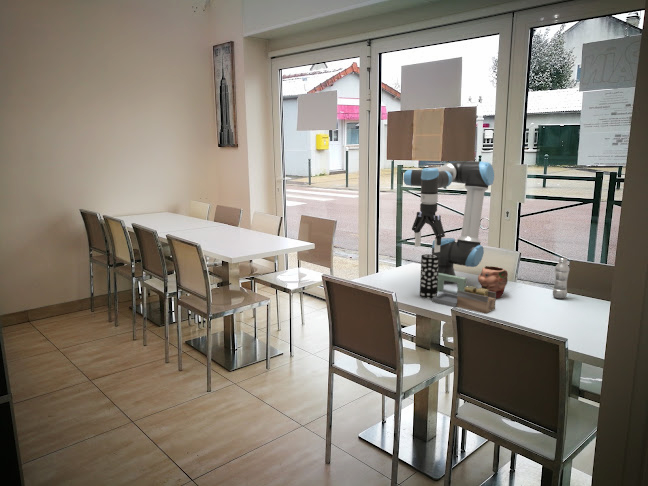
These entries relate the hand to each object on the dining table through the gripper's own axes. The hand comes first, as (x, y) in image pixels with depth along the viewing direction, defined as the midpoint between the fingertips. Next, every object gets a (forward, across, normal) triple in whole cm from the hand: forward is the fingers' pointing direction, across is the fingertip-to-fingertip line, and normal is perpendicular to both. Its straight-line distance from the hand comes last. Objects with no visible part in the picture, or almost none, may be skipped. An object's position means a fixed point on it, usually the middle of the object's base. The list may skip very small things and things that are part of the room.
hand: (427, 249), depth 235 cm
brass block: (+21, +13, +15) cm, 29 cm away
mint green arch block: (+26, -8, +22) cm, 36 cm away
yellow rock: (+21, +18, +17) cm, 33 cm away
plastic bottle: (+27, +24, +63) cm, 73 cm away
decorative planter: (+27, +5, +38) cm, 47 cm away
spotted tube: (+26, -8, +8) cm, 29 cm away
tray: (+26, +4, +12) cm, 29 cm away
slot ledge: (+26, +16, +16) cm, 35 cm away
